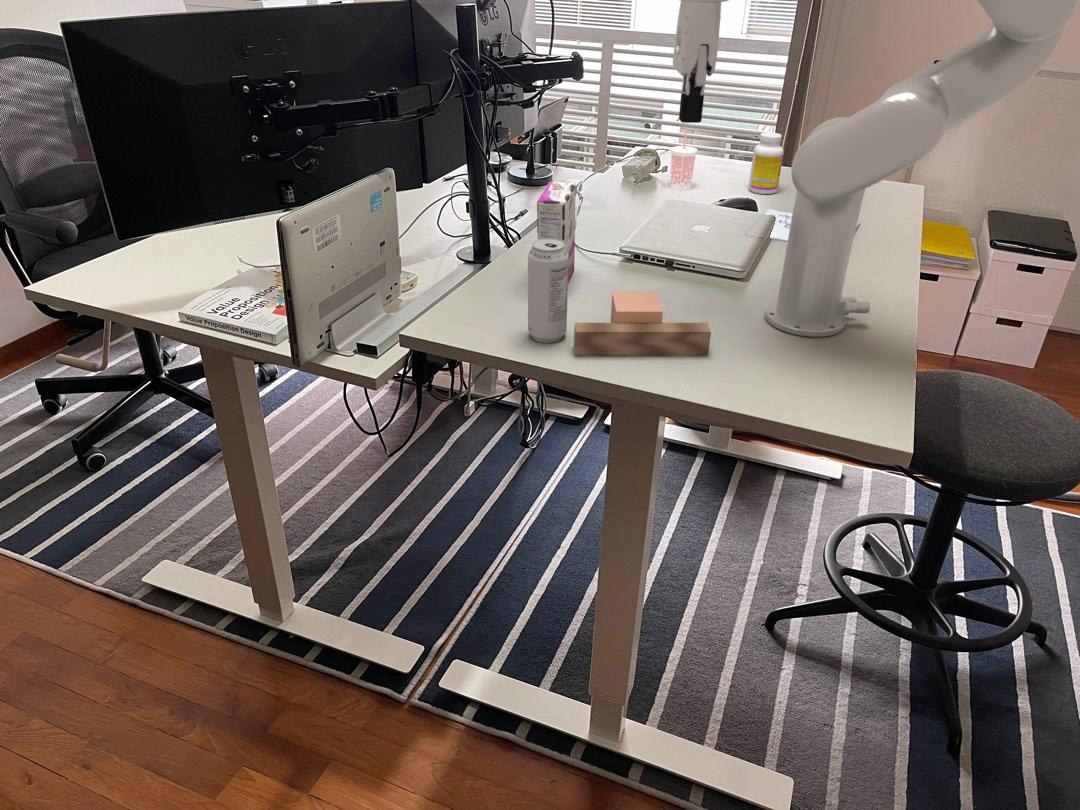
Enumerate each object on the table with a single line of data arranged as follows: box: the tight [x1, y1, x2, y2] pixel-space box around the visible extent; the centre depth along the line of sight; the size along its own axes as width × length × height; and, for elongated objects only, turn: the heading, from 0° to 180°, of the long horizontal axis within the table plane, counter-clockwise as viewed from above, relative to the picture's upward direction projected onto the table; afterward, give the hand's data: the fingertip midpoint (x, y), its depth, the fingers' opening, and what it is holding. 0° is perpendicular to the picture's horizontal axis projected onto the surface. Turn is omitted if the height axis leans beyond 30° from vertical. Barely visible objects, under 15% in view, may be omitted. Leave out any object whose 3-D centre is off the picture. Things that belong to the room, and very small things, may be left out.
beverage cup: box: [670, 126, 698, 192], centre depth 191 cm, size 6×6×14 cm
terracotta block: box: [609, 291, 664, 323], centre depth 128 cm, size 7×7×6 cm
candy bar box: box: [536, 180, 577, 284], centre depth 143 cm, size 11×5×16 cm, turn 168°
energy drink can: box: [527, 238, 569, 344], centre depth 125 cm, size 6×6×15 cm
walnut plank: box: [573, 322, 712, 357], centre depth 124 cm, size 20×3×4 cm, turn 91°
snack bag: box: [764, 208, 861, 243], centre depth 171 cm, size 19×20×2 cm
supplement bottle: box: [748, 131, 785, 195], centre depth 190 cm, size 7×7×13 cm
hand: (689, 121), depth 127 cm, fingers closed
